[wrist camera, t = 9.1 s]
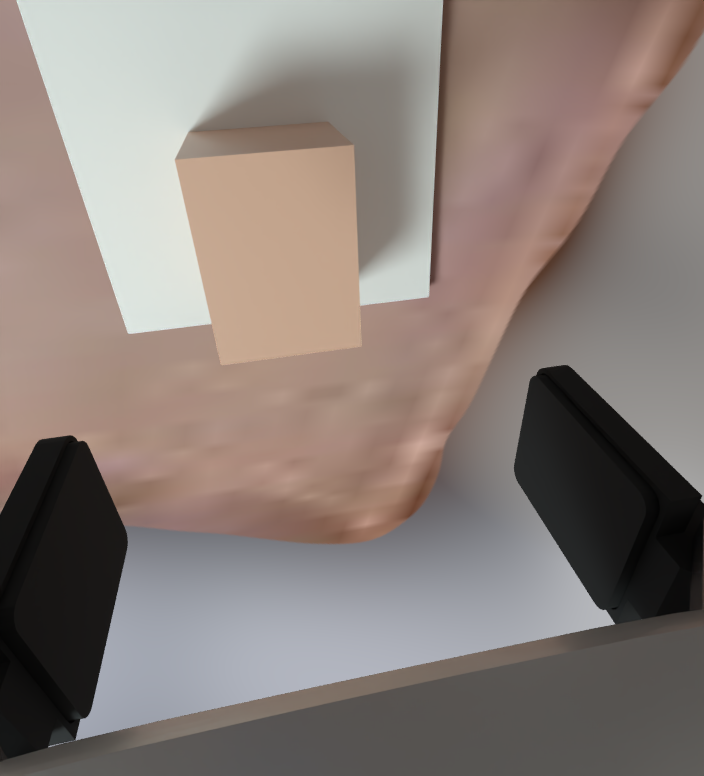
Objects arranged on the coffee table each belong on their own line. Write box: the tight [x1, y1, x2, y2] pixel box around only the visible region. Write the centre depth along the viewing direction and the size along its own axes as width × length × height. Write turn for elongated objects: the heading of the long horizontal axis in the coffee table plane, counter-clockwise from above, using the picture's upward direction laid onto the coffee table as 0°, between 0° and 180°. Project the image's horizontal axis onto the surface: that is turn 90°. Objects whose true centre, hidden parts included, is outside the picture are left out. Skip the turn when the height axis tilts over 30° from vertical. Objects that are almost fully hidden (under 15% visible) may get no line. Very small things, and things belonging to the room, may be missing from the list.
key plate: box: [16, 0, 443, 334], centre depth 22 cm, size 18×16×1 cm
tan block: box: [175, 122, 362, 365], centre depth 22 cm, size 8×6×6 cm
